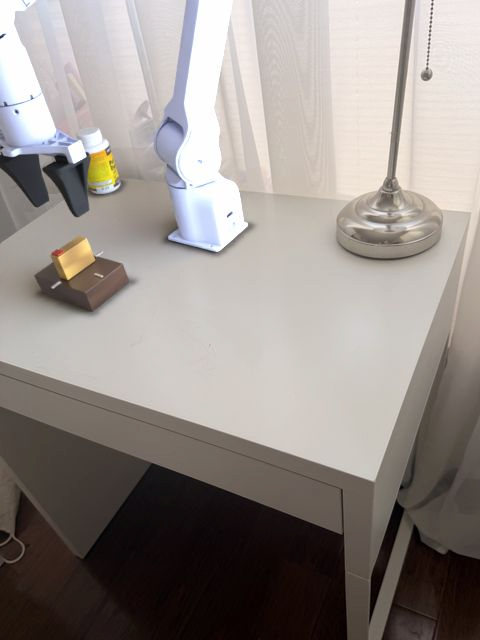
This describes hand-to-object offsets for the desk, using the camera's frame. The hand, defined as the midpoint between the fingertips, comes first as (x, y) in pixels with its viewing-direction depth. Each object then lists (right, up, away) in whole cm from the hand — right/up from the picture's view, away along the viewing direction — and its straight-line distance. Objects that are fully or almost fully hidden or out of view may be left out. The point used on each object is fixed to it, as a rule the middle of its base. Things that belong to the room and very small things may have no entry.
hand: (61, 208), depth 70 cm
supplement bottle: (-2, +11, +28) cm, 30 cm away
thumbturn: (+1, -7, +3) cm, 8 cm away
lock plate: (+2, -10, +5) cm, 11 cm away
